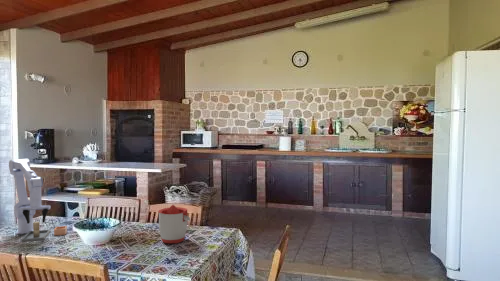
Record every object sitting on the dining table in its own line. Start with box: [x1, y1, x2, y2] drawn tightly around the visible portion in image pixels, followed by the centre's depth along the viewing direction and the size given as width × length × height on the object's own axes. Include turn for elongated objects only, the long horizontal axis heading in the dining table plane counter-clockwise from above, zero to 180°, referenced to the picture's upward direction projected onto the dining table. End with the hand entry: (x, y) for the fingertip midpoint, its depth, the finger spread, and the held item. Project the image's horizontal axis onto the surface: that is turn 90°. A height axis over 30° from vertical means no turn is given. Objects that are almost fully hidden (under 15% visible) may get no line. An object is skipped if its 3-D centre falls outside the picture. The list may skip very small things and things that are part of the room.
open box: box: [53, 225, 68, 236], centre depth 210 cm, size 6×6×4 cm
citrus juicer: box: [158, 204, 191, 244], centre depth 199 cm, size 16×17×20 cm
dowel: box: [33, 221, 41, 237], centre depth 205 cm, size 3×3×8 cm
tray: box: [20, 229, 51, 243], centre depth 205 cm, size 16×11×2 cm
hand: (36, 222), depth 205 cm, fingers open, 7 cm apart
